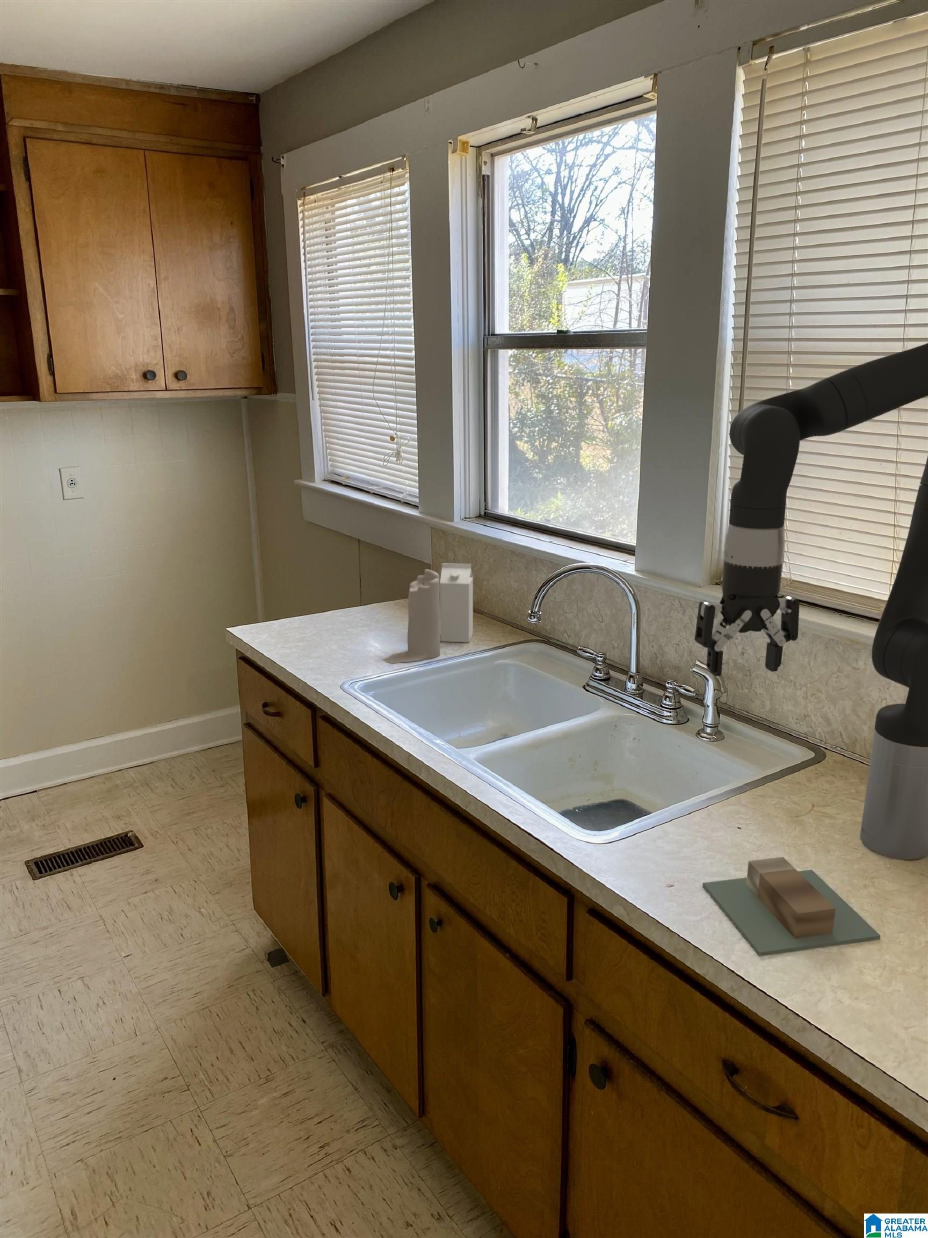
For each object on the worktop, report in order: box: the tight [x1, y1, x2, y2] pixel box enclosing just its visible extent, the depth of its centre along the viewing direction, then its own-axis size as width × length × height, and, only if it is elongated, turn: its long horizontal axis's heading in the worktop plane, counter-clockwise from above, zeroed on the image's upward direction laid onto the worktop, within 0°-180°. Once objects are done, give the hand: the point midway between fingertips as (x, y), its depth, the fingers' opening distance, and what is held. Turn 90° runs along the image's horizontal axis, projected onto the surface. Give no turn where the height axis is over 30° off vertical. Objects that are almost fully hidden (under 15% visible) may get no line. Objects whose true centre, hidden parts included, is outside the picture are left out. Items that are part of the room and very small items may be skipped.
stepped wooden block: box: [746, 856, 836, 939], centre depth 116 cm, size 12×5×4 cm, turn 12°
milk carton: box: [439, 562, 474, 643], centre depth 225 cm, size 7×7×19 cm
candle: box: [382, 568, 441, 664], centre depth 211 cm, size 7×14×20 cm, turn 121°
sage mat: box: [702, 869, 881, 957], centre depth 117 cm, size 16×15×1 cm
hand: (743, 672), depth 127 cm, fingers open, 8 cm apart
